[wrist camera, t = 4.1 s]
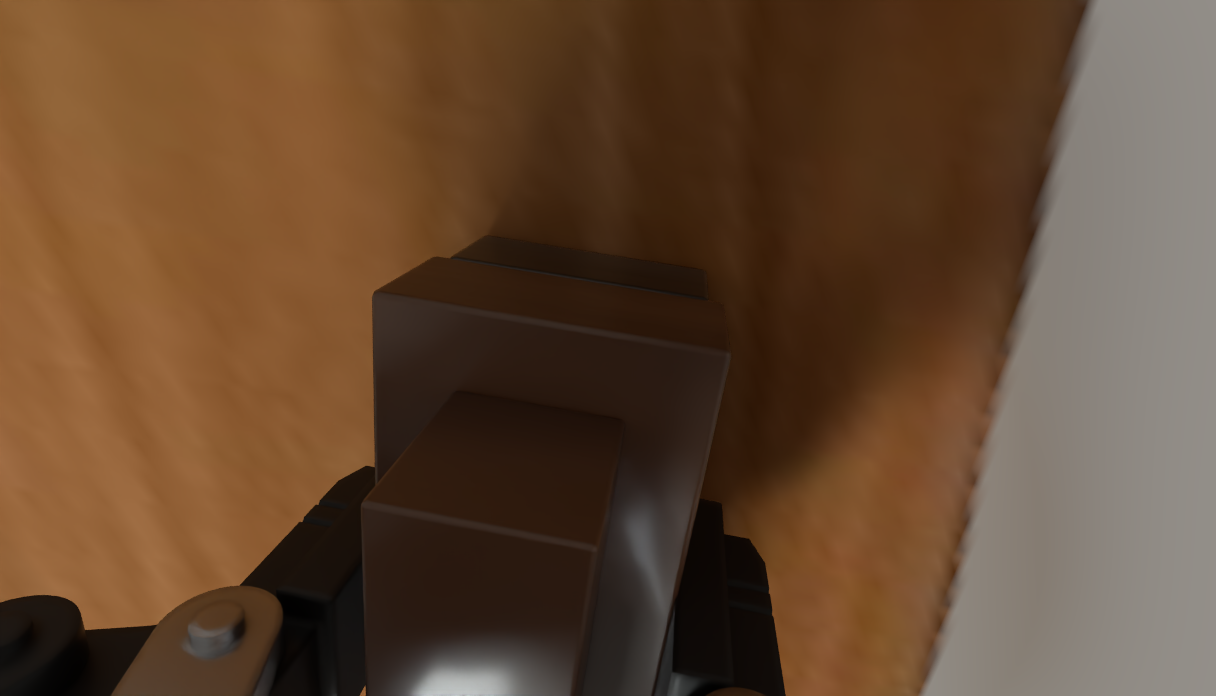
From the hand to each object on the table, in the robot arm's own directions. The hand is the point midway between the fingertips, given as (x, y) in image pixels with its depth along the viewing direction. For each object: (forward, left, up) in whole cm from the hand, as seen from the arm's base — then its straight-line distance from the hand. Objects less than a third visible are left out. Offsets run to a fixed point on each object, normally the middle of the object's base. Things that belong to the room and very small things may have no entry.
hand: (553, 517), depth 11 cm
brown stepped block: (0, 0, -1) cm, 1 cm away
